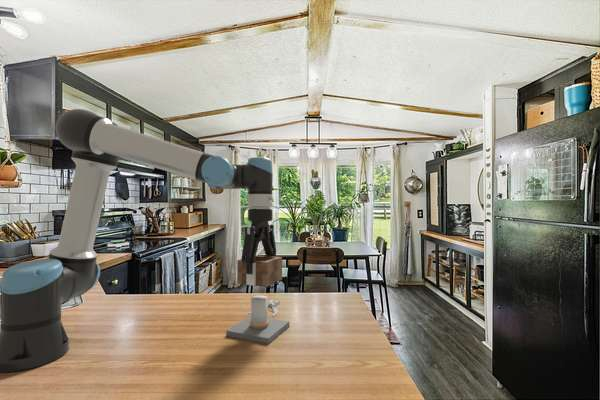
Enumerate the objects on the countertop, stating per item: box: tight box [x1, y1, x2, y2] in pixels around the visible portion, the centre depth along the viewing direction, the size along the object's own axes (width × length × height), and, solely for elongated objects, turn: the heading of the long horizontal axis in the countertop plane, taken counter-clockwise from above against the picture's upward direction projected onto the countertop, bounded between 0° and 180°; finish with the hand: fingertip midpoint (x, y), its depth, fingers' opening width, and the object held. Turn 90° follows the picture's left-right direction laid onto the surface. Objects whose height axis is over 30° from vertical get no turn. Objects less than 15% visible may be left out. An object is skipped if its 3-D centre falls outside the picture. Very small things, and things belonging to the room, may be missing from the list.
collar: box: [236, 254, 283, 288], centre depth 97 cm, size 10×10×7 cm
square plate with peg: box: [225, 295, 290, 345], centre depth 97 cm, size 14×14×10 cm
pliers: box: [248, 299, 281, 318], centre depth 117 cm, size 10×2×15 cm
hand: (260, 280), depth 97 cm, fingers closed on collar, 10 cm apart
